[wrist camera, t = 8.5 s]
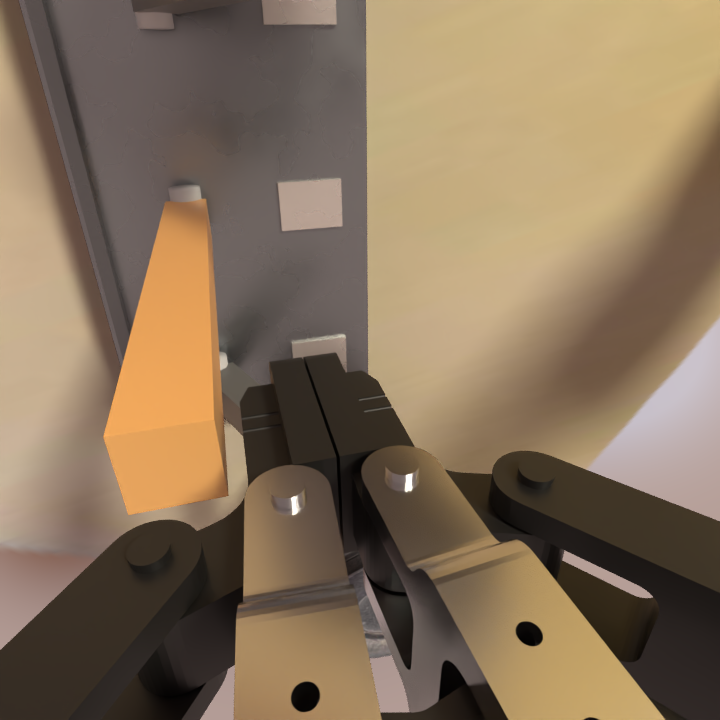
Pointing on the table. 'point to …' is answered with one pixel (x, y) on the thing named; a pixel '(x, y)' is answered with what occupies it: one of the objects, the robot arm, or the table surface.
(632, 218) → the table surface
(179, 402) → the lever mid
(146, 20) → the lever low
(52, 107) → the breaker panel
